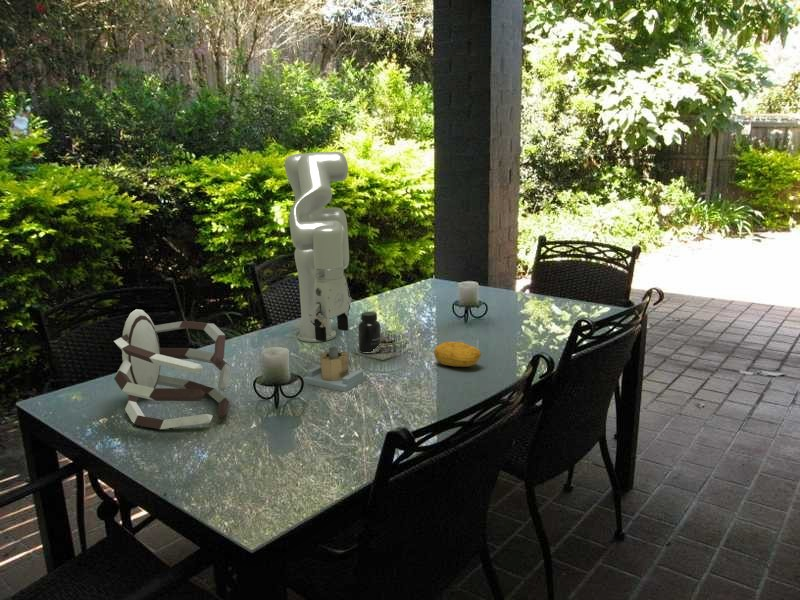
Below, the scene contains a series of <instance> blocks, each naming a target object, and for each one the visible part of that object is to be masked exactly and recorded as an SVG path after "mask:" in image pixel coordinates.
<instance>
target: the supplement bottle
mask: <svg viewBox="0 0 800 600" xmlns="http://www.w3.org/2000/svg"><path fill="white" fill-rule="evenodd" d="M360 315H361V316H360V320H361V321H360V322H359V323H358V331H357V332H358V351H359V352H360V351H361V352H371V351H373V349H375V348H376V347H377V346H378V345H379V344H380V343H381V344H382V338H381V337H382V336H381V333H382V332H381V323H380V322H379V321H378V314H377V312H375V311H365V312H362V313H361V314H360ZM361 352H360V353H361Z"/></svg>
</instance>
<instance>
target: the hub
mask: <svg viewBox="0 0 800 600" xmlns="http://www.w3.org/2000/svg"><path fill="white" fill-rule="evenodd" d="M319 363H320V364H319V365H320V366H321V377H322V379H323V380H328V381H338V380H342V378H344V377H345V376H347V375H349V371H350V370H349V355H348V353H347V351H342V350H338V357H336V358H329V350H328V351H325V352H322V353H321V354H319Z"/></svg>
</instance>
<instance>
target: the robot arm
mask: <svg viewBox="0 0 800 600" xmlns="http://www.w3.org/2000/svg"><path fill="white" fill-rule="evenodd" d="M284 169H285V174H286V177H287V180H288V182H289V185H290V186H291V188H292V189H291V190H292V192H293V195H294V201H295V202H294V204H292V207H291V208H290V211H289V212H290V213H289V218H288V219H289V222H288V223H289V230H290V238H291V242H292V245H293V247H295V250H294V260H295V261H294V262H295V265H296V266H295V267H296V270H297V277H298V278H297V279H298V286H299V301H300V313H301V314H300V316H301V318H300V319H301V321H296V323H295V324H294V326H293V327H294V329H297V330H299V333H298V334H297V338H298V340H300V341H301V342H305V343H307V342H308V343H320V342H321V343H322V342H326V341H327V342H328V341H330V340H333V339H335V338H336V337H337V332H336V331H335V330H334V329H332V321H331V320H332V319H334V318H336V317H337V318H336V321H337V323H336V324H337V329H338V330H340V331H345V332H347V331H349V318H348V317H349V316H350V313H349V312H350V309H351V304H352V297H351V296H349V288H348V284H347V283H348V282H347V278H346V276H345V275H344V274H345V273H344V272H345V271H344V270H345V269H347V268H348V266H349V263H350V249H349V247H350V246H349V231H348V221H347V216H346V213H345V211H344V210H343V209H342V208H340V207H333V206H332V207H325V206H327V205H328V204H329V203H330V202H331V201H332V198H333V191H332V188H331V187H332V186H331V182H343V181H345V180H346V179H347V178H348V175H349V165H348V160H347V159H346V156H345V155H344V154H343V153H342V152H340V151H325V152H324V151H323V152H321V151H319V152H318V151H317V152H307V153H306V152H305V153H295V154H291V155H289V156H287V157H286V159H285V161H284Z"/></svg>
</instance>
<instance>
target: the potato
mask: <svg viewBox="0 0 800 600" xmlns="http://www.w3.org/2000/svg"><path fill="white" fill-rule="evenodd" d="M433 354H434V356H435V359H436V360H437V361H438V362H439V363H441V364H442V365H443V366H450V367H454V368H455V367H456V368H465V367H467V368H468V367H472V366H474V365H475V364H477V363H478V361H479V360H480V358H481V355H482V352H481V351H480V349H478V348H477V347H475V346H473V345H470V344H466V343H464V342H462V341H461V342H460V341H444V342H441V343H439V344H438V345H437V346H436V347H435V348H434V351H433Z"/></svg>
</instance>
